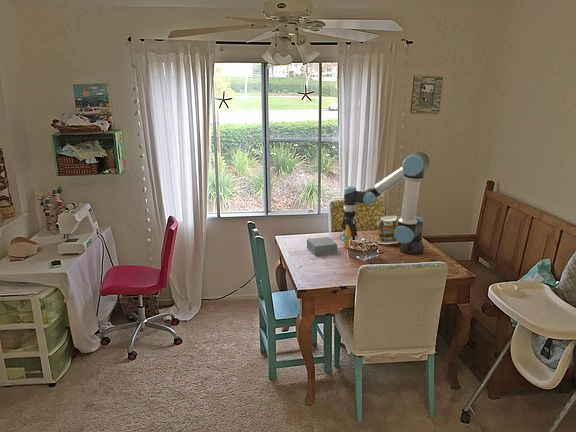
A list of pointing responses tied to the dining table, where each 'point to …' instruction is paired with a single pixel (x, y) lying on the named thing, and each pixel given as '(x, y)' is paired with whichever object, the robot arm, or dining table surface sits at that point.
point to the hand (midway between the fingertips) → (348, 242)
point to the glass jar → (387, 230)
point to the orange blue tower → (347, 237)
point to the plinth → (322, 246)
